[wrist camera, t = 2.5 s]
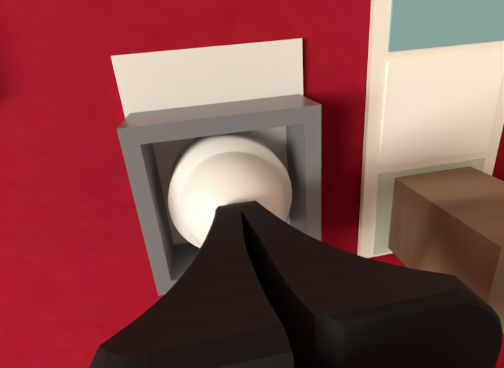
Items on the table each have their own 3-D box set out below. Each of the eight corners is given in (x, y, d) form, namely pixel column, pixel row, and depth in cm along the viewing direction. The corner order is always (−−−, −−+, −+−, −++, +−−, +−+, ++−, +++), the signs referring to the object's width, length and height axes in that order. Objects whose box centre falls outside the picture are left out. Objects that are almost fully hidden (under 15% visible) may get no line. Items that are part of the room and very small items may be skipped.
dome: (282, 220, 16) (309, 272, 12) (180, 237, 15) (178, 296, 12) (276, 121, 14) (307, 148, 10) (160, 135, 13) (150, 169, 10)
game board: (473, 234, 19) (479, 238, 18) (357, 255, 18) (360, 260, 18) (546, -98, 13) (556, -102, 12) (376, -91, 12) (382, -95, 12)
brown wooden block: (456, 235, 18) (571, 317, 13) (387, 247, 18) (477, 339, 12) (469, 166, 16) (608, 227, 11) (394, 177, 16) (501, 247, 11)
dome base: (306, 294, 18) (328, 343, 15) (174, 320, 17) (171, 377, 14) (300, 38, 13) (333, 37, 10) (111, 55, 12) (86, 60, 9)
